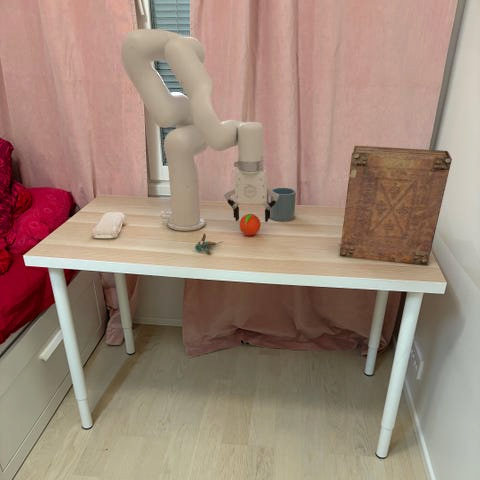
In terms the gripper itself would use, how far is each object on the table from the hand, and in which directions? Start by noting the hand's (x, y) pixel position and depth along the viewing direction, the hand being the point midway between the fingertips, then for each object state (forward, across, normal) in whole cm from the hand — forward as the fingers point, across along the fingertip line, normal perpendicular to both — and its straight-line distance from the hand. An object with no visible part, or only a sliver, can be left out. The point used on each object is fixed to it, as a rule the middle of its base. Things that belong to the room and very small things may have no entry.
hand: (251, 220), depth 154 cm
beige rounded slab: (+4, -48, -3) cm, 48 cm away
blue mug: (+5, +7, +21) cm, 23 cm away
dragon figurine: (+5, -12, -14) cm, 19 cm away
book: (+7, +41, -9) cm, 42 cm away
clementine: (+6, -1, 0) cm, 6 cm away
